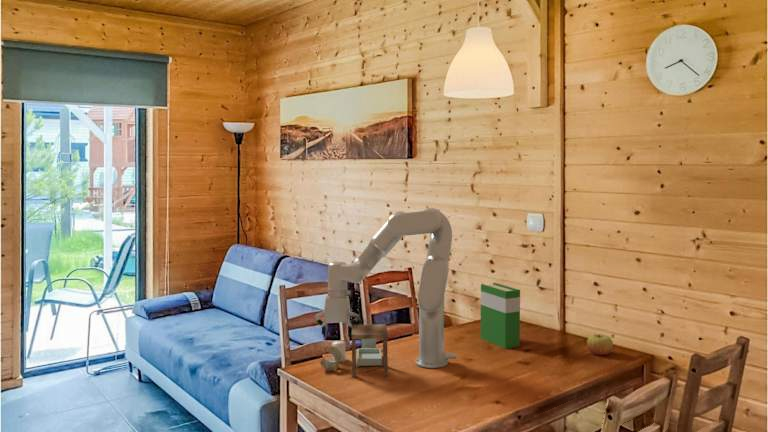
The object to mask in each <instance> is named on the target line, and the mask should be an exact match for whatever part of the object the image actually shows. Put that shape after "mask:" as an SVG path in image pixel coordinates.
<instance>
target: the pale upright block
mask: <svg viewBox="0 0 768 432" xmlns="http://www.w3.org/2000/svg"><path fill="white" fill-rule="evenodd" d="M331 346H333V347H335V348H337V349H338V350H339V351H340V352H341V360H340V363H343V362H345V361H346V341H345V340H335V341H332V342H331ZM331 359H333V360H335V357H334V356H333V355H332V354H331Z"/></svg>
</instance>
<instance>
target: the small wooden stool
mask: <svg viewBox="0 0 768 432" xmlns="http://www.w3.org/2000/svg"><path fill="white" fill-rule="evenodd" d="M387 327H388V326H387V324H386V323H382V324H381V323H379V324H378V323H377V324H376V323H375V324H374V323H373V324H371V323H370V324H364V323H363V324H354V325H352V335H350V337H351V366H352V367H351V369H352V371H351V372H352V373H351V374H352V376H351V377H352V378H356V377H357V375H356V374H357V373H356V371H357V370H356V367H357V355H356V354H357V348H356V347H357V346H356V342H357V340H362V339H376V340H380V339H382V367H383V377H384V378H386V377H387V378H388V377H389V376H388V375H389V374H388V367H389V366H388V339H389V337H388V336H389V335H388V328H387Z"/></svg>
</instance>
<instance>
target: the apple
mask: <svg viewBox="0 0 768 432" xmlns="http://www.w3.org/2000/svg"><path fill="white" fill-rule="evenodd" d="M586 341H587V342H586V345H587V349H588V351H589V352H590V353H592V354H594V355H597V356H607V355H609V354H610V353H611V352H612V351H613V346H614V344H613V340H612V338H611V337H609V336H608V335H606V334H603V333H602V334H601V333H597V334H591V335H590V336H589V337H587V340H586Z"/></svg>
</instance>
